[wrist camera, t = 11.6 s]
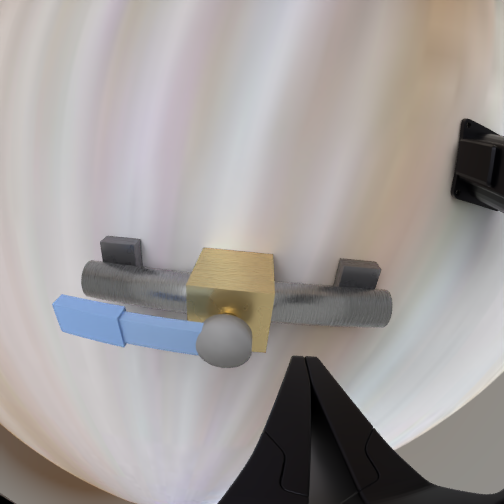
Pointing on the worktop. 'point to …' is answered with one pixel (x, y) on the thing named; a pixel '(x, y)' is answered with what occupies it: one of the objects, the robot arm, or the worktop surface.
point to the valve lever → (157, 331)
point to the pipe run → (238, 289)
